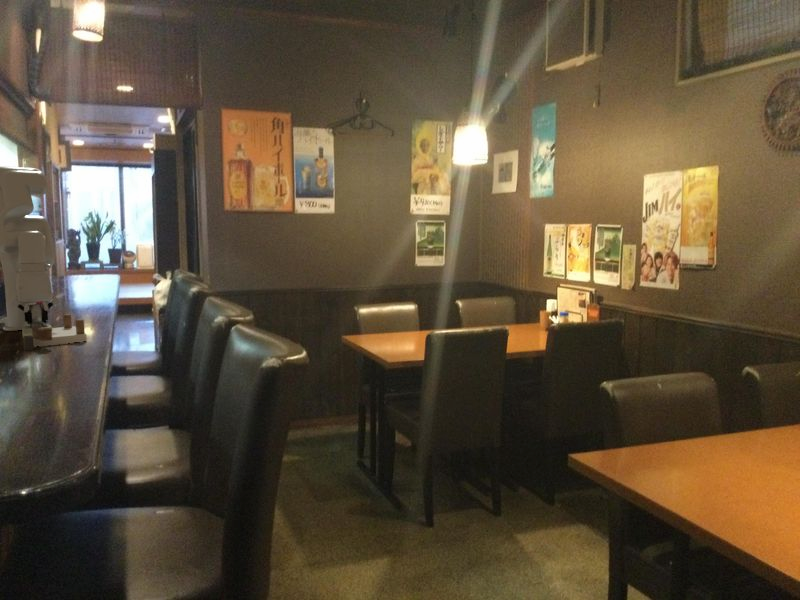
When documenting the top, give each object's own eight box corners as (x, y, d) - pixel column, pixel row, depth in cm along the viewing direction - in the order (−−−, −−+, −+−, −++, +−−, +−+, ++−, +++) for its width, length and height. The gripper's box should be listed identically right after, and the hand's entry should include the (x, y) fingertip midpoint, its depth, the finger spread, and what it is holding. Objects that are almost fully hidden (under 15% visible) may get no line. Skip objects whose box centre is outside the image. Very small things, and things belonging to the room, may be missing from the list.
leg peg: (27, 329, 213) (25, 305, 212) (36, 327, 217) (34, 303, 216) (38, 329, 212) (36, 305, 211) (46, 327, 216) (45, 304, 215)
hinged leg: (41, 336, 201) (40, 324, 201) (52, 340, 195) (51, 327, 194) (33, 337, 200) (32, 325, 199) (43, 341, 193) (42, 328, 193)
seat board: (16, 338, 215) (15, 317, 214) (75, 333, 225) (73, 313, 224) (25, 350, 192) (23, 327, 191) (90, 344, 203) (88, 322, 202)
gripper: (59, 267, 220) (63, 319, 222) (2, 269, 211) (6, 324, 212) (62, 267, 214) (66, 322, 216) (4, 270, 204) (8, 326, 206)
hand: (36, 322), depth 214 cm, fingers closed on leg peg, 4 cm apart
